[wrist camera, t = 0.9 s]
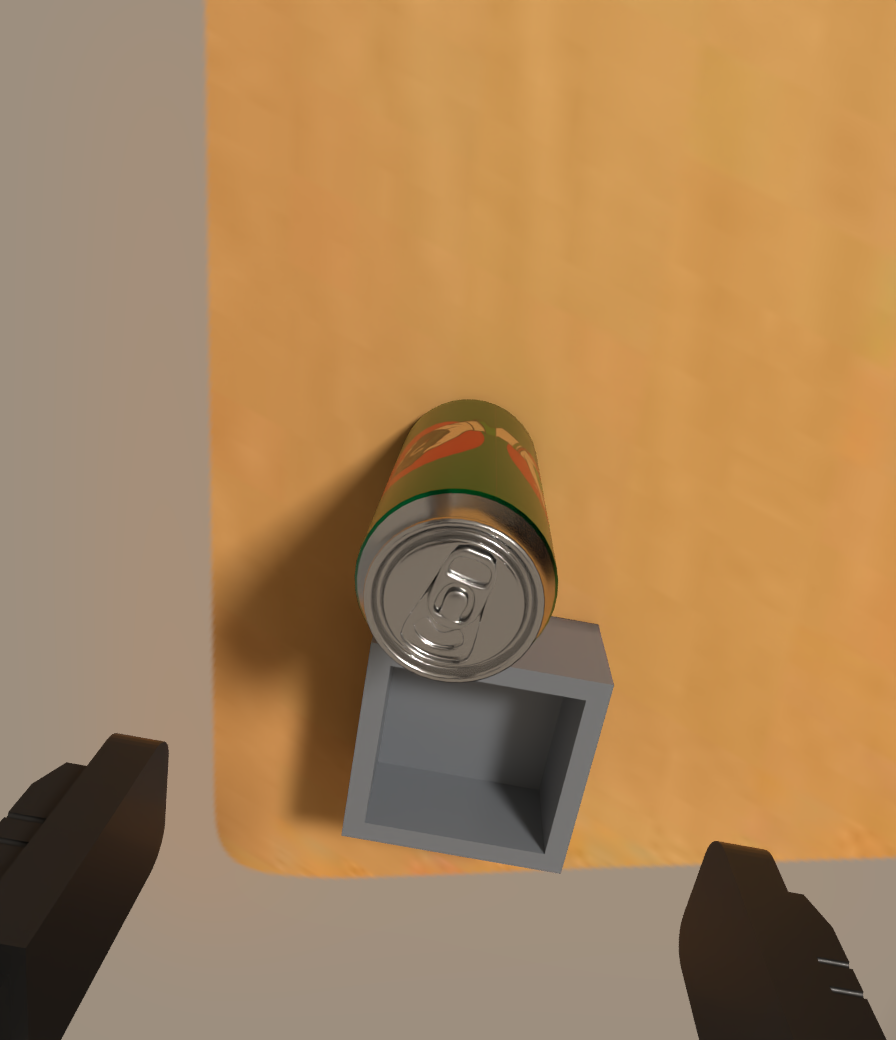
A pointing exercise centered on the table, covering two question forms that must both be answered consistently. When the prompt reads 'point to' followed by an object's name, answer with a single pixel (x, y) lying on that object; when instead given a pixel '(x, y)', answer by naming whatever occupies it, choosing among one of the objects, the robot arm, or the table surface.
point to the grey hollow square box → (482, 752)
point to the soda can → (459, 547)
